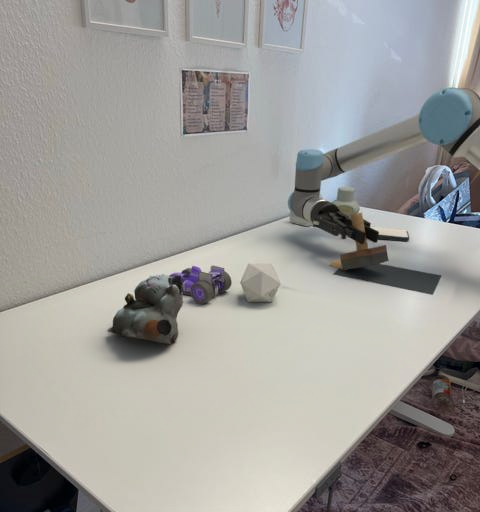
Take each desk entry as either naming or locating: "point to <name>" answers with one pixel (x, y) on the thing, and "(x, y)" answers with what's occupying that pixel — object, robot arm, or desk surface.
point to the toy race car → (204, 283)
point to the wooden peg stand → (363, 250)
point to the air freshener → (346, 201)
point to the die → (260, 282)
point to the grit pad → (337, 264)
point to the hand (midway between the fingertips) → (370, 237)
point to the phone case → (392, 234)
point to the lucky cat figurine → (151, 310)
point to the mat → (394, 277)
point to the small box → (298, 220)
